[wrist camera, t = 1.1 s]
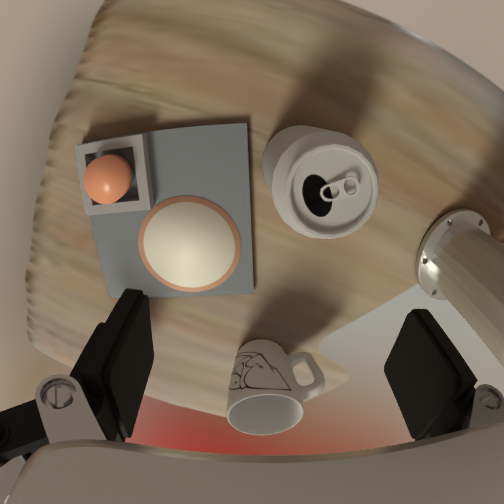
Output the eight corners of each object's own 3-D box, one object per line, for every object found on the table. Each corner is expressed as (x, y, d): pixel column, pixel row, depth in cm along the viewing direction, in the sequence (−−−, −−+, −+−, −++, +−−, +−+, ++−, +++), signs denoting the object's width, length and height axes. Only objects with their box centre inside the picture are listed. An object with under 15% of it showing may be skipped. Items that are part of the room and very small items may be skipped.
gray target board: (246, 122, 28) (247, 123, 26) (253, 289, 35) (254, 301, 33) (81, 143, 27) (71, 145, 25) (112, 294, 35) (105, 304, 33)
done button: (130, 150, 26) (122, 153, 24) (136, 195, 28) (129, 201, 26) (89, 157, 26) (80, 160, 24) (96, 200, 28) (87, 206, 26)
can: (249, 140, 28) (255, 157, 17) (322, 114, 27) (372, 118, 17) (277, 209, 31) (297, 265, 21) (345, 184, 30) (398, 226, 20)
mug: (308, 317, 37) (326, 377, 28) (318, 363, 41) (334, 420, 32) (219, 340, 38) (215, 402, 29) (239, 381, 42) (240, 440, 33)
